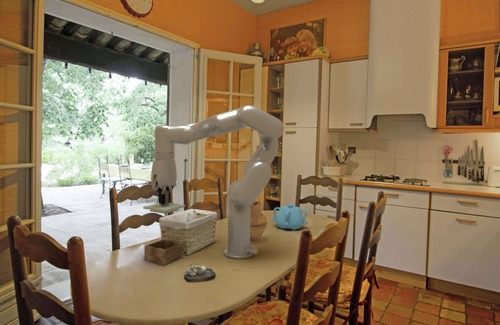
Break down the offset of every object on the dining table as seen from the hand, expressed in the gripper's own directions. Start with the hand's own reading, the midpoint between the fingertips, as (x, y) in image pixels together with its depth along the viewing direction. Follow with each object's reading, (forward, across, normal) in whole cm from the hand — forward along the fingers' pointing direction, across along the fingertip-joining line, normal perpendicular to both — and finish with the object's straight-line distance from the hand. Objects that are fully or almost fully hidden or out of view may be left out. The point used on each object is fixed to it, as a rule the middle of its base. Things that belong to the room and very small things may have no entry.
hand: (164, 202), depth 127 cm
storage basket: (+23, -18, -2) cm, 30 cm away
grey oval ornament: (+24, +5, +22) cm, 33 cm away
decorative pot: (+24, -74, +24) cm, 81 cm away
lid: (+3, 0, 0) cm, 3 cm away
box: (+23, 0, 0) cm, 23 cm away
